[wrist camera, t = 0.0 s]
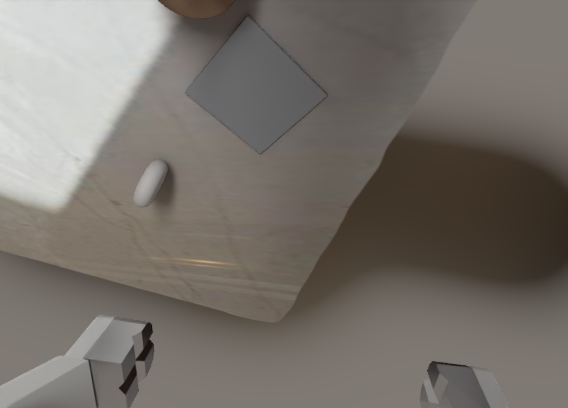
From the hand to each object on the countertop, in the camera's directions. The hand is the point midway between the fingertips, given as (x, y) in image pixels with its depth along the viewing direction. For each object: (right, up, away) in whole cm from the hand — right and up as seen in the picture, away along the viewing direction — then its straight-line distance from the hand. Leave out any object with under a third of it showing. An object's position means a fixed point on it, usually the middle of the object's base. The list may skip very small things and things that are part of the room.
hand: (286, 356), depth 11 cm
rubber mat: (-5, +23, +51) cm, 56 cm away
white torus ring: (-25, +12, +65) cm, 71 cm away
